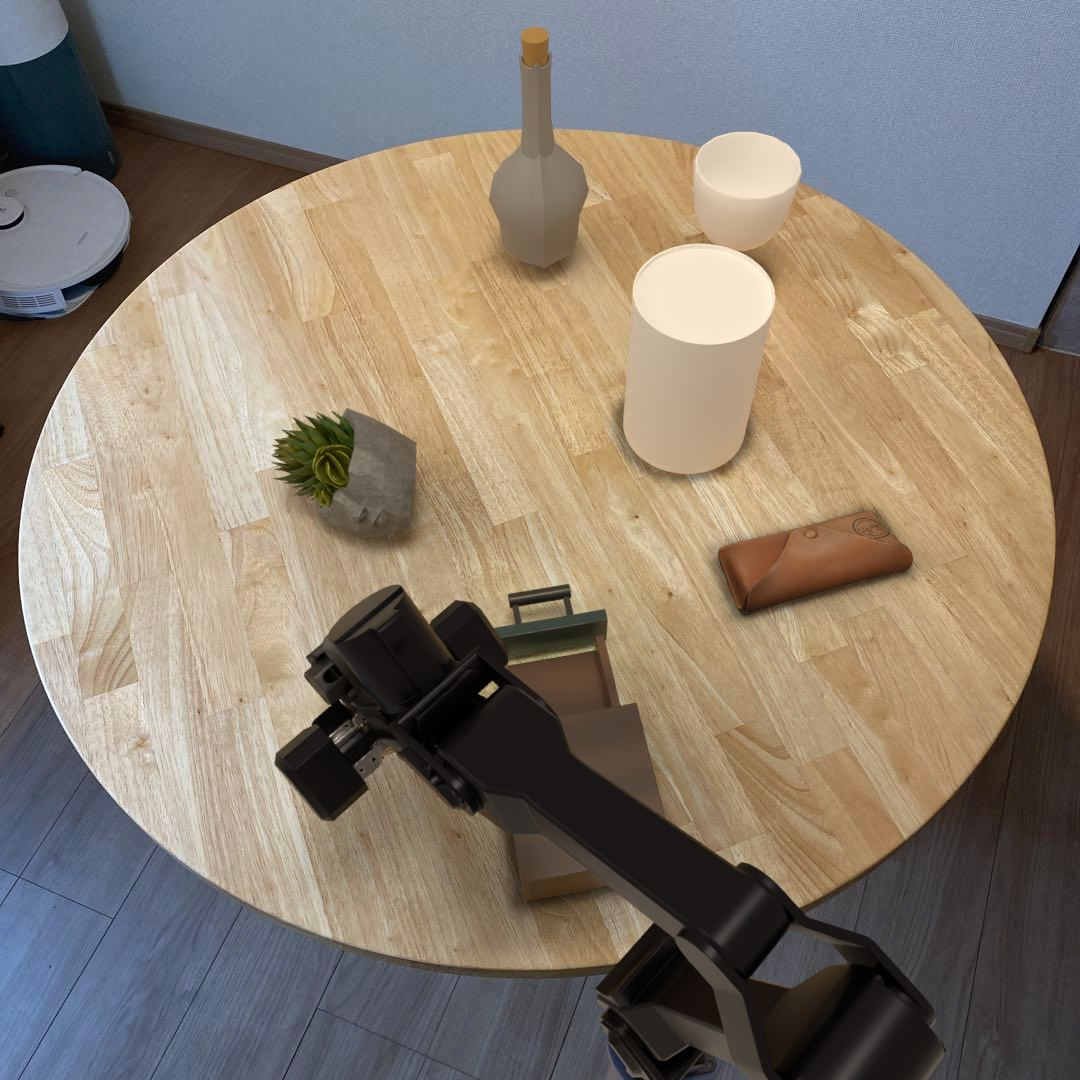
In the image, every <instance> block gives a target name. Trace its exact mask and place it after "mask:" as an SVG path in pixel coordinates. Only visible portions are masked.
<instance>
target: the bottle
mask: <svg viewBox="0 0 1080 1080" xmlns="http://www.w3.org/2000/svg"><path fill="white" fill-rule="evenodd" d="M549 37H550V33H549V31H548V29H545V28H543V27H540V26H532V27H531V26H530V27H528V28H525V29H523V30H522V32H521V33H520V43H521V53H522V54H518V62H519V72H520V73H519V74H520V82H521V86H520V87H521V110H522V112H521V113H522V126H521V136H520V145H518V147H517V148H516V149H515V150H514V151H513V152H512V153H511V154H510V155H509V156H507V158H505V159H504V160H503V161H502V162H501V164H500V165H499V167H498V169H496V170H495V172H494V173H493V174H492V180H491V186H490V191H489V195H488V201H489V203H490V206H491V208H492V210H493V213H494V215H495V217H496V219H497V221H498V224H499V229H500V237H501V238H500V239H501V243H502V247H503V248H504V249H505V250H507V251H508V252H509V254H510V255H511V256H512V257H513V258H515V259H517V260H518V261H520V262H522V263H527V264H530V265H533V266H537V267H540V268H543V269H545V268H548V267H549V266H551V265H553V264H554V263H557V262H558V261H560V260H563V259H565V258H566V257H567V256H568V255H569V254H570V253H571V252H572V251H573V248H574V247H575V245H576V242H577V240H578V237H579V225H580V216H581V213H582V211H583V208H584V205H585V203H586V200H587V198H588V194H589V192H590V189H589V185H588V181H587V177H586V173H585V168H584V166H583V164H581V163H580V162H579V161H578V160H577V159H575V158H574V157H573V155H571V154H569V153H568V152H567V151H566V150H565V149H564V148H563V147H561V145H559V144H558V143H557V142H556V141H555V135H554V129H553V128H554V127H553V122H552V81H551V79H552V78H551V77H552V56H553V52H552V51H550V52H549V42H550V41H549V40H550V38H549Z"/></svg>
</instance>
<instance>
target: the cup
mask: <svg viewBox="0 0 1080 1080" xmlns="http://www.w3.org/2000/svg"><path fill="white" fill-rule="evenodd" d="M802 174H803V171H802V164H801V158H800V157H799V155H798V154H797V153H796V152H795V151H794V150H793V148H792V146H790V145H789V144H788V143H786V142H784V141H781V139H779V138H777V137H775V136H772V135H768V134H764V133H760V132H757V131H731V132H728V133H725V134H719V135H717V136H714V137H713V138H712V139H710V140H708V141H707V142H706V143H704V144H703V145H701V147H700V149H699V150H698V152H697V154H696V155H695V157H694V163H693V174H692V175H693V176H692V177H693V178H692V181H693V182H692V184H693V185H692V186H693V191H692V192H693V207H694V214H695V220H696V223H697V225H698V226H699V228H700V229H701V231H702V232H703V234H704V235H705V236H706V238H707V240H708V241H710V242H711V243H713V245H718V246H723V247H727V248H730V249H733V250H736V251H738V252H747V251H751V250H753V249H754V250H755V249H757V248H760V247H762V246H763V245H764V244H766V243H767V242H768V241H769V240H771V239H772V238H774V236H776V235H777V234H778V233H779V231H780V229H781V228H782V226H783V225H784V222H785V221H786V220H787V217H788V214H789V212H790V210H791V208H792V204H793V202H794V200H795V196H796V194H797V191H798V188H799V185H800V180H801V177H802Z"/></svg>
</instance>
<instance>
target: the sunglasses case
mask: <svg viewBox="0 0 1080 1080" xmlns="http://www.w3.org/2000/svg"><path fill="white" fill-rule="evenodd" d="M717 555H718V560H719V563H720V566H721V568H722V572H723V574H724V577H725V579H726V582H727V585H728V587H729V590H730V593H731V595H732V598H733V600H734V604H735V605H736V608H737V610H738V611H739V612H740V613H741V614H745V615H746V614H752V613H757V612H760V611H763V610H766V609H770V608H773V607H776V606H779V605H782V604H783V605H784V604H785V603H790V602H794V601H798V600H801V599H804V598H807V597H811V596H814V595H818V594H821V593H827V592H830V591H834V590H836V589H840V588H843V587H847V586H848V587H849V586H851V585H855V584H859V583H862V582H866V581H870V580H874V579H877V578H882V577H886V576H890V575H893V574H897V573H900V572H904V571H907V570H909V569H911V568H912V566H913V563H914V555H913V551H911V549H910V547H908V546H907V545H906V544H903V543H902V542H901V541H900V540H898V539H897V538H896V537H895V536H894V535H893V534H892V533H891V532H890V531H889V530H888V529H887V528H885V526H884V525H883V524H881V522H880V521H879V519H878V518H877V515H875V513H874V512H872V511H871V510H870V511H869V510H867V511H859V512H854V513H851V514H845V515H842V516H839V517H835V518H831V519H828V520H824V521H820V522H815V523H812V524H809V525H804V526H801V527H797V528H792V529H788V530H784V531H780V532H776V533H772V534H766V535H764V536H759V537H755V538H750V539H746V540H741V541H736V542H733V543H728V544H726V545H723V546H721V547H719V548H718V553H717Z"/></svg>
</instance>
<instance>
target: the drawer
mask: <svg viewBox="0 0 1080 1080" xmlns="http://www.w3.org/2000/svg"><path fill="white" fill-rule="evenodd" d="M571 598H572V590H571V587H570V584H569V583H566V584H565V583H564V584H559V585H554V586H553V585H552V586H547V587H541V588H535V589H528V590H523V591H518V592H510V593H508V594H507V599H508V606H509V608H510V609H511V610H512V615H513V619H514V624H508V625H504V626H502V625H501V626H496V627H494V629H495V630H496V632H497V633H498V635H499V636H500V638H501V639H502V640H503V642H504V643H505V645H506V646H507V648H508V659H509V658H514V657H519V656H526V655H531V654H537V653H543V652H549V651H555V650H560V649H567V648H572V647H578V646H583V645H590V644H594V650H590V651H584V652H580V653H578V652H577V653H573V654H566V655H563V656H562V655H561V656H556V657H550V658H544V659H538V660H533V661H527V662H520V663H515V664H509V663H508V664H507V665H505V666H504V667H505V668H506V669H507V670H509V671H510V672H511V673H512V674H513V675H515V676H516V677H517V678H518V679H520V680H521V681H522V682H523V683H525V684H526V685H527V686H528V687H529V688H531V689H532V690H533V691H534V692H536V693H537V694H538V695H539V696H540V697H541V698H543V699H544V700H545V701H546V702H547V703H548V704H549V706H550V707H551V708H552V709H553V710H554V712H555V713H556V714H557V716H564V715H569V714H575V713H581V712H586V711H592V710H598V709H603V708H609V707H615V706H620V705H621V702H620V698H619V697H620V696H619V693H618V690H617V689H618V688H617V686H616V685H617V684H616V682H615V677H614V673H613V668H612V665H611V661H610V655H609V652H608V648H607V644H606V641H607V637H608V625H609V624H608V622H609V619H608V615H607V610H606V608H603V609H596V610H591V611H585V612H579V613H574V609H573V606H572V602H571ZM561 600H563V604H564V609H565V613H566V615H562V616H561V615H560V616H556V617H555V616H554V617H550V618H545V619H544V618H543V619H539V620H532V621H526V622H522V617H521V612H520V607H521V608H522V607H526V606H531V605H532V606H533V605H539V604H544V603H550V602H556V601H561Z"/></svg>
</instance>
